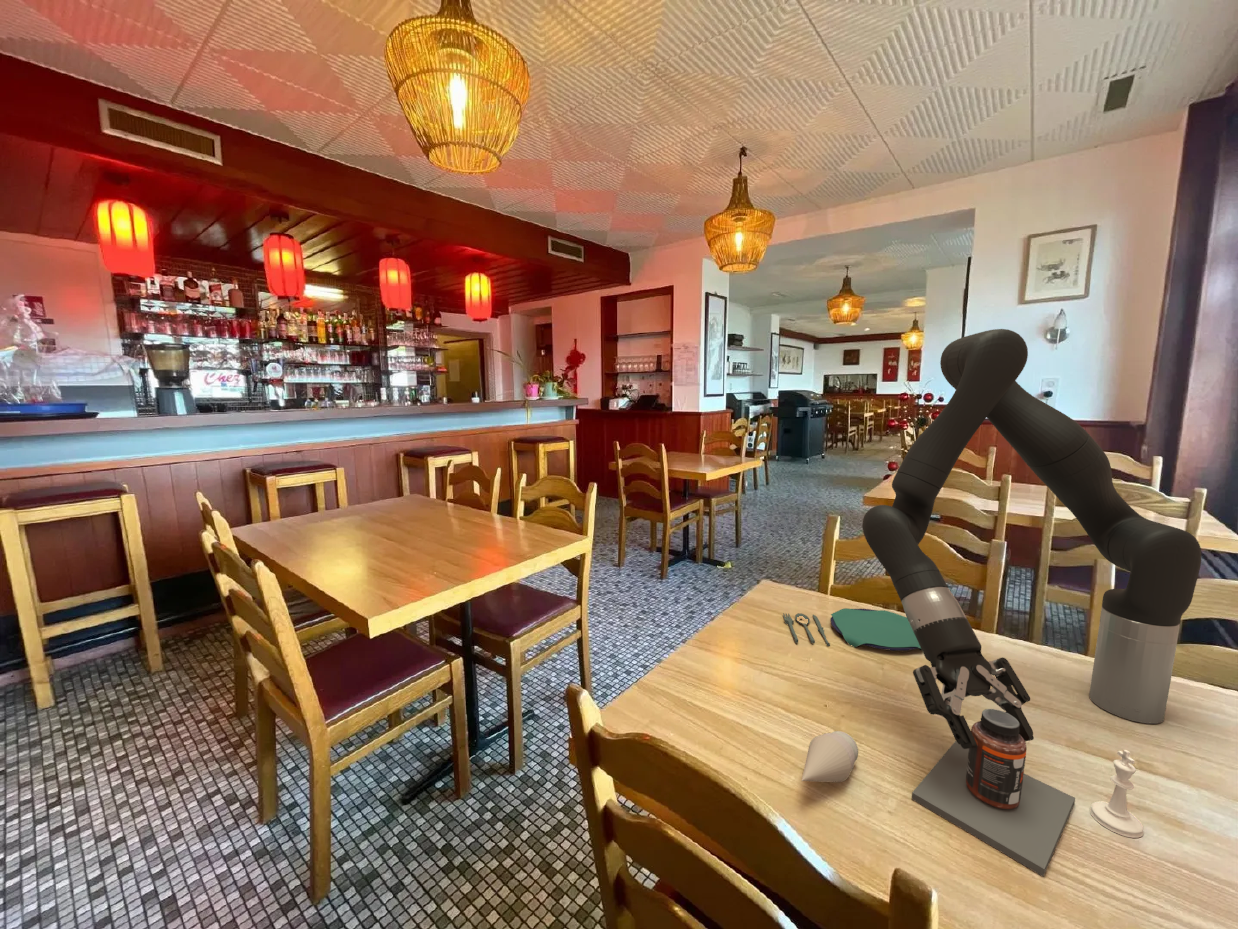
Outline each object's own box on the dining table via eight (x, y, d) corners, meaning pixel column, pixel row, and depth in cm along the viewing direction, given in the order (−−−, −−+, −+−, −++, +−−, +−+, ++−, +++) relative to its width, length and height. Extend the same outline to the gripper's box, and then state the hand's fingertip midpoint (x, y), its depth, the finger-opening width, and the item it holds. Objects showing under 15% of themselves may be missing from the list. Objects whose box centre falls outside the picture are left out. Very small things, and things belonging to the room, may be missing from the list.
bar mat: (954, 746, 77) (955, 741, 77) (1074, 804, 66) (1075, 797, 66) (911, 799, 68) (912, 792, 67) (1043, 877, 57) (1044, 869, 56)
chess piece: (1114, 804, 66) (1125, 737, 65) (1155, 837, 61) (1167, 765, 60) (1079, 806, 66) (1088, 738, 65) (1117, 839, 61) (1128, 766, 60)
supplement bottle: (1030, 816, 64) (1040, 736, 62) (977, 808, 65) (986, 730, 63) (1005, 780, 69) (1014, 706, 68) (957, 773, 71) (964, 701, 69)
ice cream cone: (794, 810, 66) (841, 769, 76) (833, 803, 62) (877, 761, 72) (772, 760, 68) (820, 727, 79) (808, 750, 65) (854, 717, 75)
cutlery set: (944, 661, 102) (945, 651, 102) (793, 650, 107) (794, 640, 107) (906, 618, 122) (906, 609, 121) (779, 610, 127) (779, 602, 126)
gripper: (910, 619, 71) (970, 746, 62) (997, 611, 73) (1068, 734, 64) (883, 635, 77) (934, 754, 68) (964, 628, 79) (1024, 742, 70)
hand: (999, 744), depth 66 cm, fingers open, 8 cm apart
